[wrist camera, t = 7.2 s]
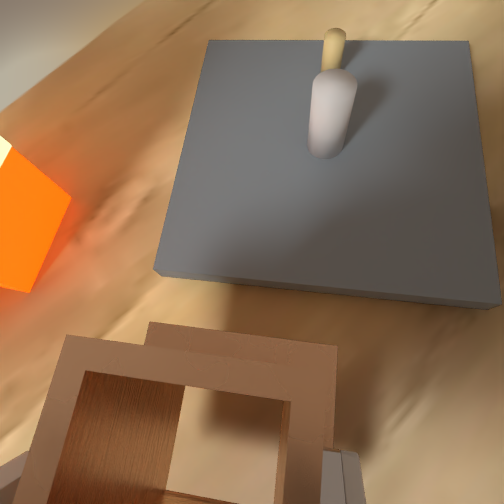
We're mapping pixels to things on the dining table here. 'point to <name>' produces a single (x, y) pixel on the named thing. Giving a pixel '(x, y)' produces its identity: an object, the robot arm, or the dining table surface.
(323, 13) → the dining table surface
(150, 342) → the copper sleeve
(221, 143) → the base plate
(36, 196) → the orange juice
